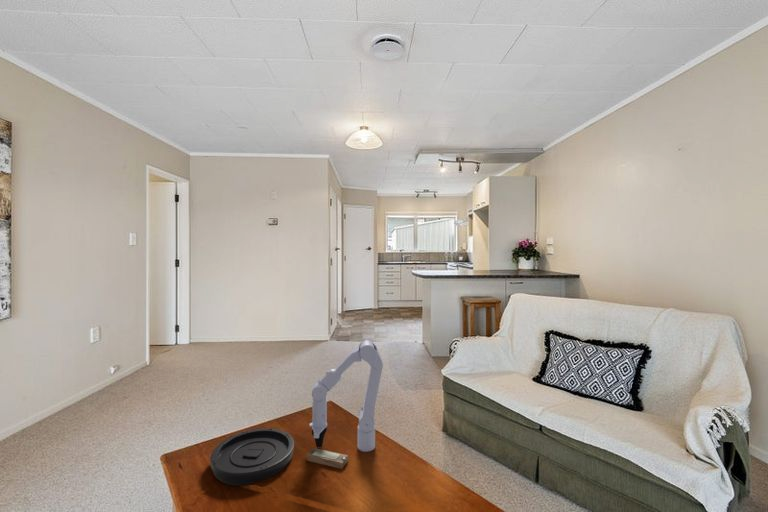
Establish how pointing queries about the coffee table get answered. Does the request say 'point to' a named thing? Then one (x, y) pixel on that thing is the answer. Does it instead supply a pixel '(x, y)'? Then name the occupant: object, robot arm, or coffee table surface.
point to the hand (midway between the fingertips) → (319, 446)
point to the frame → (327, 458)
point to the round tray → (251, 456)
